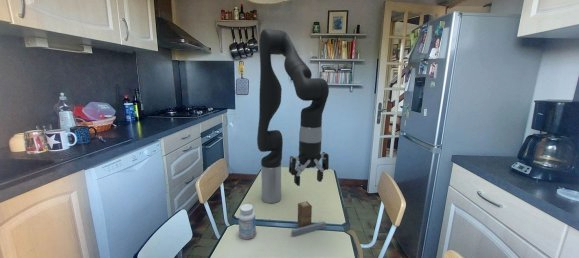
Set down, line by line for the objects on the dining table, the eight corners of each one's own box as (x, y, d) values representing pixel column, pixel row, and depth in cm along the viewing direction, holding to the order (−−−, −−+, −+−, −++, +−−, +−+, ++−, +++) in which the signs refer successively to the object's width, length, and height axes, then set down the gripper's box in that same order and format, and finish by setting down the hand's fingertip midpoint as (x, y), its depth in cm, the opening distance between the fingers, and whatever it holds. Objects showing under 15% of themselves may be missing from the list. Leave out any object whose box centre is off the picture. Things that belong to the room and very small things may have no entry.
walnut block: (297, 223, 97) (297, 202, 95) (306, 221, 99) (307, 200, 97) (301, 229, 94) (302, 207, 92) (311, 226, 95) (311, 205, 93)
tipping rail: (291, 234, 91) (291, 229, 90) (324, 225, 96) (324, 221, 96) (292, 236, 89) (292, 231, 89) (325, 227, 95) (325, 223, 94)
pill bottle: (248, 227, 95) (247, 201, 92) (259, 233, 91) (258, 206, 88) (235, 235, 90) (234, 207, 88) (246, 242, 86) (245, 213, 84)
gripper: (323, 134, 88) (320, 175, 92) (286, 137, 83) (285, 181, 87) (334, 139, 81) (331, 184, 85) (295, 144, 76) (294, 191, 80)
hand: (308, 182), depth 86 cm, fingers open, 8 cm apart
